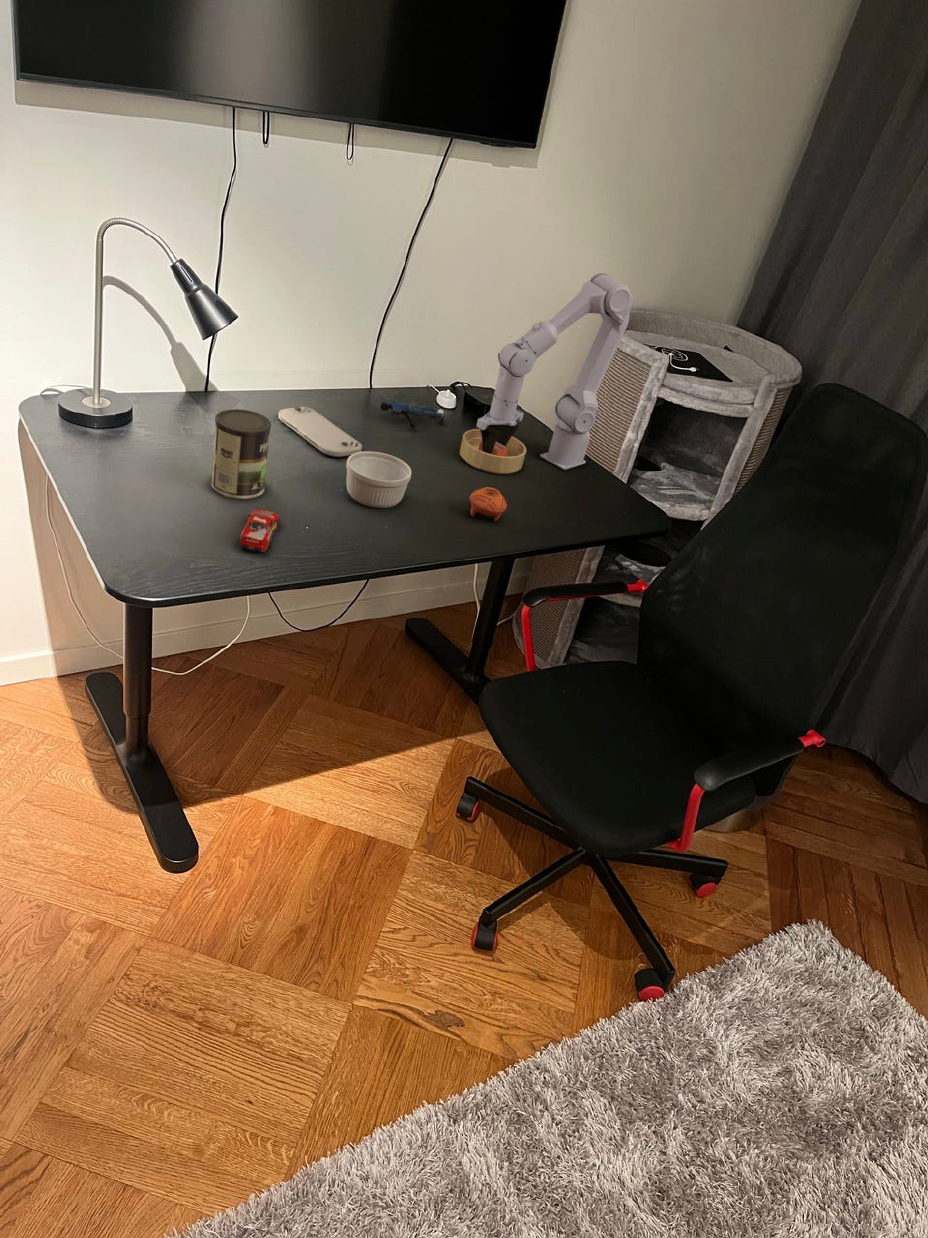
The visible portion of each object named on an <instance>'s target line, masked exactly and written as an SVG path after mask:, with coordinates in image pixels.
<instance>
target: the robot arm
mask: <svg viewBox="0 0 928 1238" xmlns="http://www.w3.org/2000/svg"><path fill="white" fill-rule="evenodd" d="M634 302H635V298H634V296H633V294H632V292H631V288H629V287H628V286H627V285H626V284H623V283H621V282H619V281H617V280H616V279H614V278H612V277H611V276H610V275H609V274H607V273H606V272H598V273H595V274H594V275H593V276H591V278H590V279H589V280H587V281H586V282H584V283H583V284H582V286H581V289H580V291H579V292H578V293H577V294H576V295H575V296H574V297H572V299H571V300H570V301H568V302H567V304H566V305H565V306H564V307H563V308H561V309H560V310H559V311H558V312H557V313H556V314H555V315H554V316H553V317H552V318H551V319H550V320H549V321H545V320H543V321H539V322H536V323H534V324H532V326H531V327H532V328H531V329H530V330H528V331H527V332H526V333H525V334H523V336H521V337H519V338H517V339H516V340H515V342H510V343H507V344H506V345H504V346H503V347H502V348H501V350H500V352H497V353H498V354H497V361H498V363H499V369H498V370H499V372H498V374H497V375H498V376H497V379H496V384H495V388H494V392H493V397H492V401H491V405H490V409H489V411H488V412H487V413H486V414H485V415H483V416H482V417H480V418H478V419H477V422H476V428H477V429H480V431H481V435H482V451H483V452H485V453H488V454H491V453H492V451H493V449H494V446H495V443H496V442H497V443H499V444H501V445H503V446H504V447H506V445H507V443H508V441H509V440H510V438H511V437H513V435H515V433H516V432H517V431H519V428H520V425H519V424H518V423H517V421H518V422H522V421H523V418H524V414H525V413H524V412H523V411H520V410H519V409H517V407H518V403H519V399H520V395H521V392H522V388H523V383H524V380H525V376H526V375H527V374H529V373H530V372H531V371H532V370H533V367H534V365H535V362H537V360H538V358H540V357H541V356H543V354H544V353H546V352H547V351H548V350H549V349H551V348H552V347H553V346H554V345H555V344H557V342H558V337H559V334H561V333H562V332H563V331H566V329H567V328H569V327H570V326H571V325H573V324H575V323H576V322H577V321H578V320H580V319H581V318H583V317H584V316H585V315H587V314H594V315H595V314H598V315H600V318H601V319H602V322H601V324H600V325H599V329H598V330H597V332H596V336H595V338H594V340H593V342H592V345H591V346H590V349H589V351H588V353H587V356H586V358H585V360H584V362H583V364H582V367H581V369H580V371H579V373H578V376H577V378H576V380H575V383H574V384H572V385H570V386H568V387H566V388H565V390H564V392H563V394H562V395H561V396H560V397H559V398H558V399H557V400H556V402H555V405H554V414H555V415H556V420H555V421H556V422H555V427H554V430H553V434H552V438H551V440H550V445H549V447H548V450H547V451H548V452H544V453H540V455H539V458H541V459H543V460H545V461H547V462H548V463H550V464H552V465H554V466H555V467H558V468H559V469H562V470H564V471H566V470H568V469H572V468H575V467H578V466H581V465H585V464H586V463H587V461H586V460H585V456H586V453H587V449H588V446H589V443H590V439H591V434H590V430H591V429H592V428H593V426H594V425H595V423H596V415H597V412H598V409H599V403H598V399H597V392H598V390H599V388H600V386H601V384H602V382H603V379H604V377H605V375H606V373H607V370H608V369H609V366H610V364H611V362H612V360H613V357H614V356H615V353H616V351H617V349H618V346H619V345H620V342H621V340H622V338H623V336H624V334H625V332H626V329H627V328H628V325H629V322H630V314H631V313H630V312H631V308H632V305H633V304H634Z"/></svg>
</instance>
